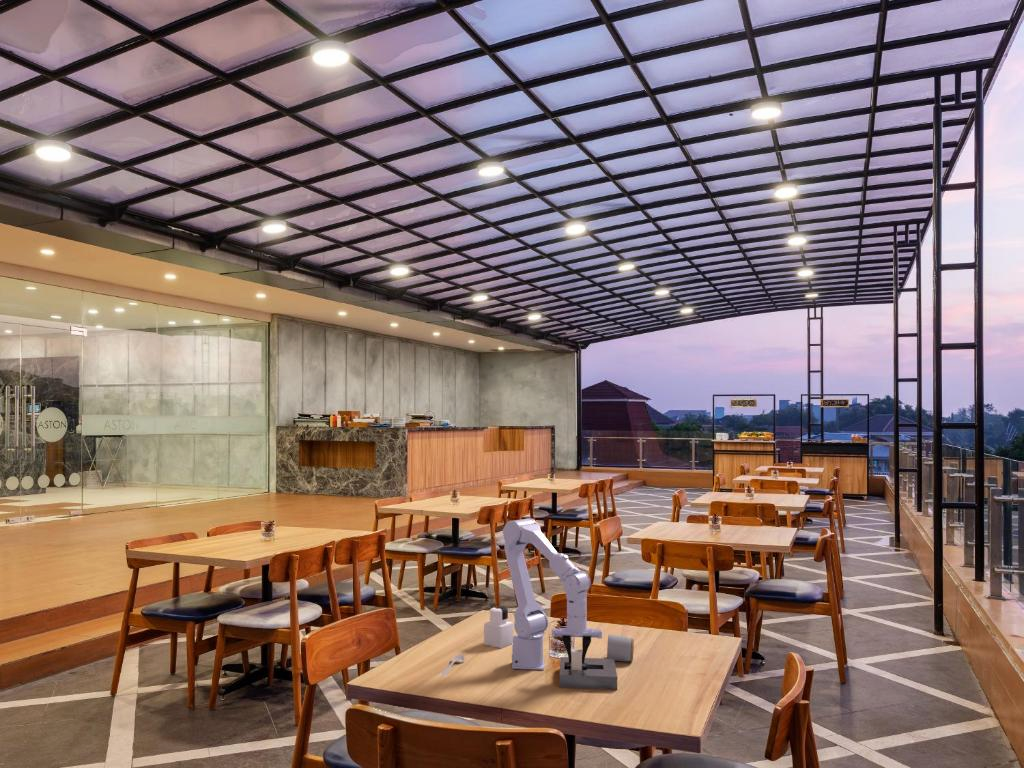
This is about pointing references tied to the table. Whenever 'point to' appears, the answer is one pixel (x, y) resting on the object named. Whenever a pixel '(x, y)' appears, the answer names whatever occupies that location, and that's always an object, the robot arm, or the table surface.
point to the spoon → (458, 657)
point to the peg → (576, 659)
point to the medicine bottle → (498, 628)
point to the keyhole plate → (589, 674)
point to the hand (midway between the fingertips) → (576, 662)
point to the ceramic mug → (620, 648)
